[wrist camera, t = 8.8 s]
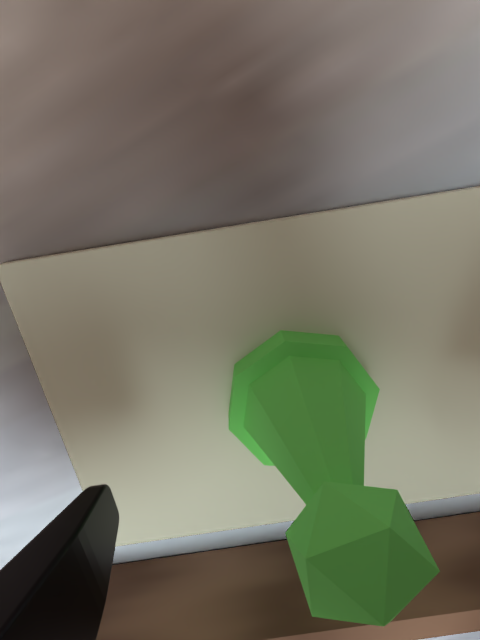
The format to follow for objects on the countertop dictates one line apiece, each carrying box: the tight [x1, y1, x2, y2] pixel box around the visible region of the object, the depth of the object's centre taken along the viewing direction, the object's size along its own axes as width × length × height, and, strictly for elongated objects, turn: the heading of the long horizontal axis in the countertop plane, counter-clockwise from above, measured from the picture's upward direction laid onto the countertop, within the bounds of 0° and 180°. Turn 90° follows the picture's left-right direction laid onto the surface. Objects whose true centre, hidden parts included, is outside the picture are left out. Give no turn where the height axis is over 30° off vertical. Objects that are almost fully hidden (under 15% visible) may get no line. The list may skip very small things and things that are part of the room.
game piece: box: [228, 330, 440, 627], centre depth 8 cm, size 4×4×6 cm
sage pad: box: [0, 186, 480, 547], centre depth 11 cm, size 14×10×1 cm
